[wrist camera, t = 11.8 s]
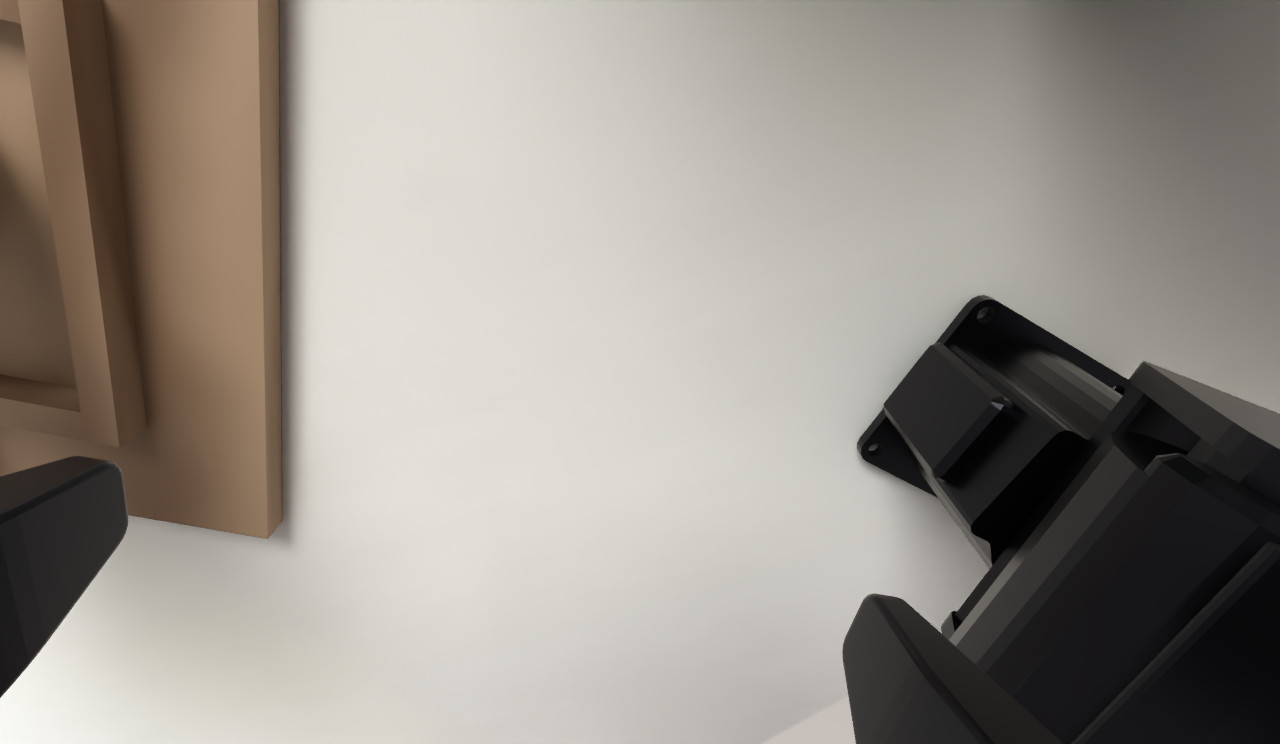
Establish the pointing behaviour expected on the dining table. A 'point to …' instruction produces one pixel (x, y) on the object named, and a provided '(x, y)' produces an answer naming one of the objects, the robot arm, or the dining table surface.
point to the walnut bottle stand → (144, 250)
